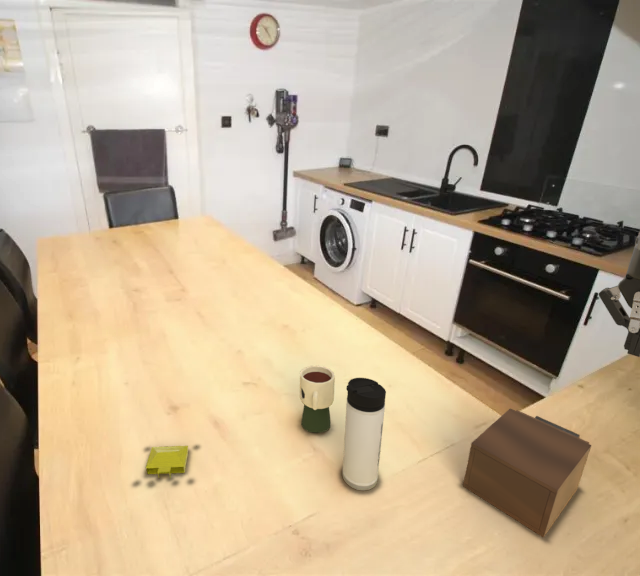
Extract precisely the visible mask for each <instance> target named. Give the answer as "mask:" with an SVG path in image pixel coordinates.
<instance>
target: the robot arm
mask: <svg viewBox="0 0 640 576" xmlns="http://www.w3.org/2000/svg"><path fill="white" fill-rule="evenodd" d="M637 234H638V235H637V236H636V238H635V241H634V247H633V251H632V253H631V256H630V257H631V258H630V261H629V264H628V267H627V270H626V273H625V276H624V278H622V279H621V280H620V281H619V282H618V285H615V286H612V287H605V288H603V289H602V290H601V291H599V293H598V297H599V298H600V300H601V301H602V303H603V305H604V307H605V309H606V310H607V312H608V313H609V315H610V316H611V318H612V320H613V321H614V323H615V324H616V325H617V326H619V327H621V326H622V327H623V328H625V329H626V330H627V335H626V338H625V341H624V344H623V348H624V350H626V351H627V355H630V356H634V357H637V358H640V230H639V231H638V233H637ZM621 296H622V297H623V299H624V301H625V302H626V304H627V306H628V307H629V308H630V309H631V311H630V315H629V314H628V313H627V311H626V309H625V308H624V306H623V304H622V303H621V301H620V299H621Z"/></svg>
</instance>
